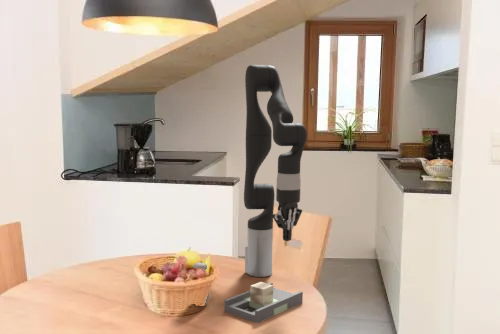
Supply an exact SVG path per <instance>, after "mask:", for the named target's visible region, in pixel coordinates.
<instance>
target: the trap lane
mask: <svg viewBox="0 0 500 334" xmlns="http://www.w3.org/2000/svg"><path fill="white" fill-rule="evenodd" d="M266 283H267V282H266ZM267 284H270V285H274V283H273V282H268V283H267ZM303 293H304V292H303V291H301V290H300V291H296V292H294V293H292V292H290V291H286V290H284V289H280V288H276V287H273V301H272V302H270V303H268V304H265V305H263V306H262V305H259V304H256V303H253V302H250V289H249V290H247V291H244V292H241V293H239V294H236V295H234V296H231V297H229V298H226V299H224V303H223V304H224V308H223V309H224V313H225V312H226V313H228V314H231V315H234V316H235V317H239V318H243V319H244V320H247V321H250V322H254V323H256V324H259V323H261V322H263V321H265V320H267V319H270V318H272V317H274V316H277V315H278V314H281V313H283V312H285V311H286V310H289V309H292V308H294V307H295V306H298V305H300V304H302V303H303V301H304V300H303V297H304V295H303Z"/></svg>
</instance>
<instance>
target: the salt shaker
mask: <svg viewBox="0 0 500 334" xmlns="http://www.w3.org/2000/svg"><path fill="white" fill-rule="evenodd" d="M193 268H202V269H204V270H206V269H207V270H208V265H207V263H205V262H201V261H200V262H196V263H194V264H193V265H192V269H193ZM209 300H210V293H208V296H207V299H206V303H205V306H206V305H207V303H208V302H209Z"/></svg>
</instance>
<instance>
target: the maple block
mask: <svg viewBox="0 0 500 334" xmlns="http://www.w3.org/2000/svg"><path fill="white" fill-rule="evenodd" d="M273 288H274V284H273V285H270V284H267V282H263V281H259V282H257V283H255V284H251V285H250V289H249V290H250V302H253V303H256V304H259V305H262V306H263V305H265V304H268V303H270V302H272V301H273Z"/></svg>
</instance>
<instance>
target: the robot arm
mask: <svg viewBox="0 0 500 334" xmlns="http://www.w3.org/2000/svg"><path fill="white" fill-rule="evenodd" d="M244 80H245V84H244V85H245V86H244V88H245V99H246V100H245V101H246V102H245V104H246V118H245V119H246V120H245V121H246V123H245V125H246V126H245V175H244V188H243V190H244V191H243V203H244V207H245V209H247V210H263V211H261V213H259V214H258V215H256V216H253V217H250V218H249V219H248V220H247V239H246V240H247V242H246V243H247V246H245V248H244V273H246V275H248V276H251V277H256V278H262V277H263V278H264V277H265V278H266V277H269V276H272V274H273V246H274V245H273V243H274V242H273V241H274V237H273V236H274V232H273V231H274V222H275V223H276V226H277V228H279V229H282V240H283V241H285V242H289V241H292V235H293V234H292V231H293V229H294V227H296V226H297V225H298V222H299V220H300V217H301V215H302V213H303V210H302V209H301V208H299V207H298V205H299V204H298V203H299V202H301V181H302V180H301V160H302V156H303V151H304V148H305V145H306V143H307V138H308V131H307V128H306V127H305V125H304V124H302V123H298V122H297V123H294V115H293V112H292V111H291V109H290V107H289V105H288V102H287V101H286V98H285V94H284V89H283V86H282V81H281V78H280V74H279V72H278V70H277V68H276V67H275V66H273V65H268V64H267V65H266V64H250V65H248V66H247V67H246V70H245V76H244ZM259 92H260V93H261V92H263V93H267V92H270V93H271V95H270V97H269V99H268V101H267V104H266V112H267V115H268V117H269V120H270V122H271V124H272V127H271V124H270V123H269V121H268V119H267V117H266V116H265V115H264V112H263V110H262V108H261V106H260V104H259V101H258V100H259V99H258V93H259ZM272 140H273V142H274V143H275V144H276V145H277V146H279V147H291V149H290V150H289V151H288V152H284V153H281V154H280V155H279V156H278V158H277V175H276V176H277V177H276V191H275V188H274V185H273V184H272V183H255V179H256V176H257V173H258V171H259V168H260V167H261V166H262V164H263V163H264V161H265V159H266V158H267V157H268V155H269V153H270V151H271V149H272ZM275 192H276V196H275ZM275 197H276V198H275ZM275 201H276V202H277V203H278V205H277V211H276V213H274V210H275V209H274V208H275V207H274V206H275Z"/></svg>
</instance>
